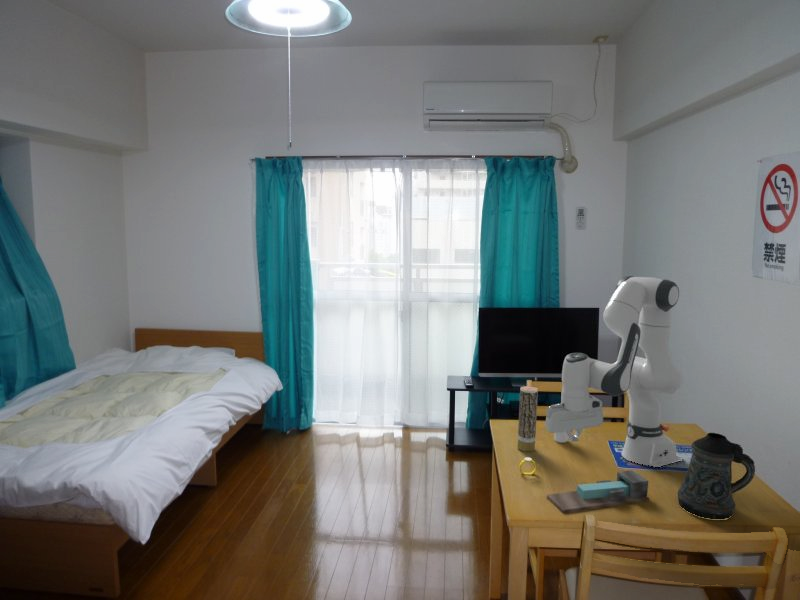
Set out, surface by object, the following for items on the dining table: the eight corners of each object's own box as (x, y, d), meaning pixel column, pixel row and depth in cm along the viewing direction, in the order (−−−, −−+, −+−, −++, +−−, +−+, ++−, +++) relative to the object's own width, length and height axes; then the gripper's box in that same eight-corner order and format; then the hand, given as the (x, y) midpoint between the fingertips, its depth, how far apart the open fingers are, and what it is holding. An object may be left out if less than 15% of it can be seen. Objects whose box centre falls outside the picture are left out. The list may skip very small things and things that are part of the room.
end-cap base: (629, 486, 196) (630, 468, 195) (648, 500, 186) (650, 482, 185) (546, 497, 187) (547, 479, 186) (563, 513, 178) (564, 493, 177)
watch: (520, 476, 202) (520, 461, 202) (518, 473, 205) (518, 457, 204) (537, 475, 202) (536, 460, 201) (535, 472, 205) (535, 456, 204)
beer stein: (669, 493, 191) (675, 423, 187) (729, 497, 189) (737, 426, 185) (688, 520, 175) (696, 443, 171) (754, 524, 173) (764, 447, 169)
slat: (630, 488, 192) (631, 480, 192) (637, 494, 188) (638, 485, 188) (576, 493, 188) (577, 484, 188) (582, 499, 184) (583, 490, 184)
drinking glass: (570, 439, 236) (572, 405, 233) (567, 445, 230) (569, 410, 227) (553, 436, 239) (555, 402, 236) (550, 442, 232) (552, 407, 230)
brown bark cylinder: (534, 453, 222) (538, 392, 218) (517, 451, 223) (520, 390, 219) (534, 446, 228) (537, 386, 224) (517, 444, 229) (520, 385, 226)
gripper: (552, 408, 182) (551, 449, 184) (606, 401, 187) (604, 440, 190) (542, 402, 188) (541, 441, 190) (595, 395, 193) (593, 433, 196)
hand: (573, 440), depth 190 cm, fingers closed
